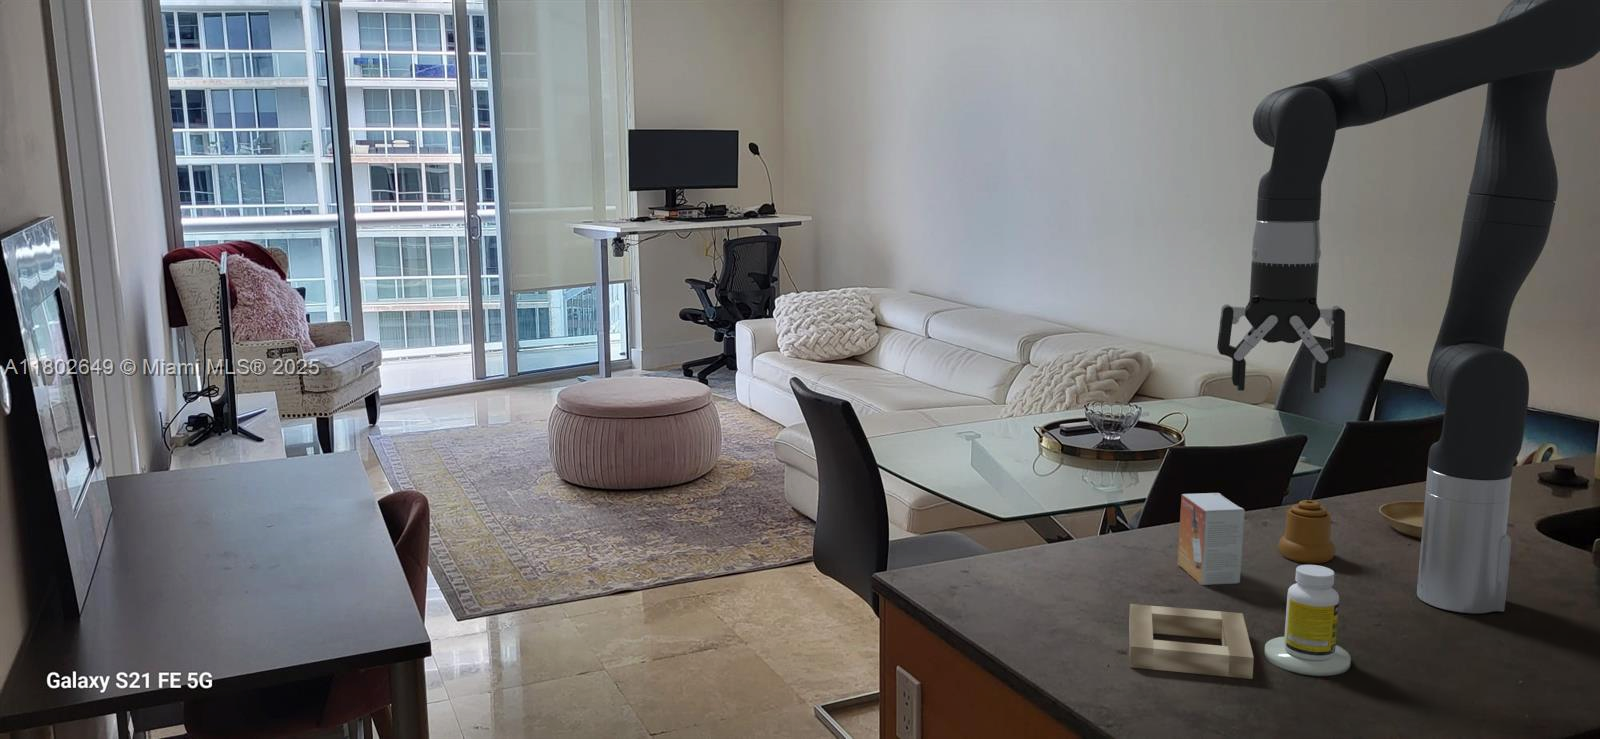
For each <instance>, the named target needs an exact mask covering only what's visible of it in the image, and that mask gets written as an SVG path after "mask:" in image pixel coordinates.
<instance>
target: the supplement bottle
mask: <svg viewBox="0 0 1600 739" xmlns="http://www.w3.org/2000/svg"><path fill="white" fill-rule="evenodd" d="M1294 579H1295V582H1296V583H1293V584H1292V585H1290V586H1289V587H1288V589H1287V595H1286V596H1287V597H1286V609H1285V625H1284V636H1283V637H1284V648H1285V650H1286V651H1287V652H1288V653H1290V654H1292V655H1294V656H1296V657H1298V658H1302V659H1307V660H1327V659H1330V658H1332V657H1333V656H1334V654H1335V647H1336V645H1337V634H1338V632H1337V631H1338V621H1339V619H1338V618H1339V608H1340V595H1339V593H1338V592H1337V591H1336V590H1335V589H1334V588H1332V587H1333V586H1334V583H1335V571H1334V570H1333V569H1332V568H1329V567H1326V566H1322V565H1316V564H1301V565H1298V566H1297V567H1296V569H1295V578H1294Z"/></svg>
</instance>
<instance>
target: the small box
mask: <svg viewBox="0 0 1600 739" xmlns="http://www.w3.org/2000/svg"><path fill="white" fill-rule="evenodd" d="M1245 512H1246V511H1245V509H1244V508H1243V507H1240V506H1239V505H1237V504H1235V503H1234V502H1232V501H1231V500H1230V499H1228V498H1226V497H1225V496H1224V495H1223V494H1221V493H1219V492H1207V493H1203V492H1202V493H1183V494H1181V501H1180V513H1179V514H1180V518H1179V534H1178V535H1179V536H1178V548H1177V549H1178V550H1177V552H1178V553H1177V555H1178V556H1177V565H1178V566H1179V567H1180V568H1181V569H1183V570H1184V571H1185V572H1186V573H1188V574H1189V575H1190V577H1192V578H1193V579H1194V580H1196V582H1197V583H1198V584H1200V586H1208V585H1209V586H1210V585H1231V584H1234V585H1235V584H1236V585H1237V584H1240V583H1241V571H1242V558H1243V555H1242V554H1243V544H1244V543H1243V542H1244V530H1245V529H1244V528H1245V527H1244V526H1245V515H1246V513H1245Z"/></svg>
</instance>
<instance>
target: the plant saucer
mask: <svg viewBox="0 0 1600 739" xmlns="http://www.w3.org/2000/svg"><path fill="white" fill-rule="evenodd" d="M1424 505H1425V501H1421V500H1420V501H1419V500H1407V501H1405V500H1403V501H1402V500H1401V501H1393V502H1388V503H1385V504H1381V506H1379V508H1378V510H1379V511H1378V512H1380V513H1379V514H1381V516H1382V518H1383V519H1385V522H1386V523H1388V524H1389V526H1391V527H1392V528H1393V529H1394V530H1396V531H1397V532H1399V533H1402V534H1404V535H1408V536H1411V537H1414V538H1415V537H1416V538H1418V539H1422V528H1423V516H1424Z"/></svg>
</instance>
